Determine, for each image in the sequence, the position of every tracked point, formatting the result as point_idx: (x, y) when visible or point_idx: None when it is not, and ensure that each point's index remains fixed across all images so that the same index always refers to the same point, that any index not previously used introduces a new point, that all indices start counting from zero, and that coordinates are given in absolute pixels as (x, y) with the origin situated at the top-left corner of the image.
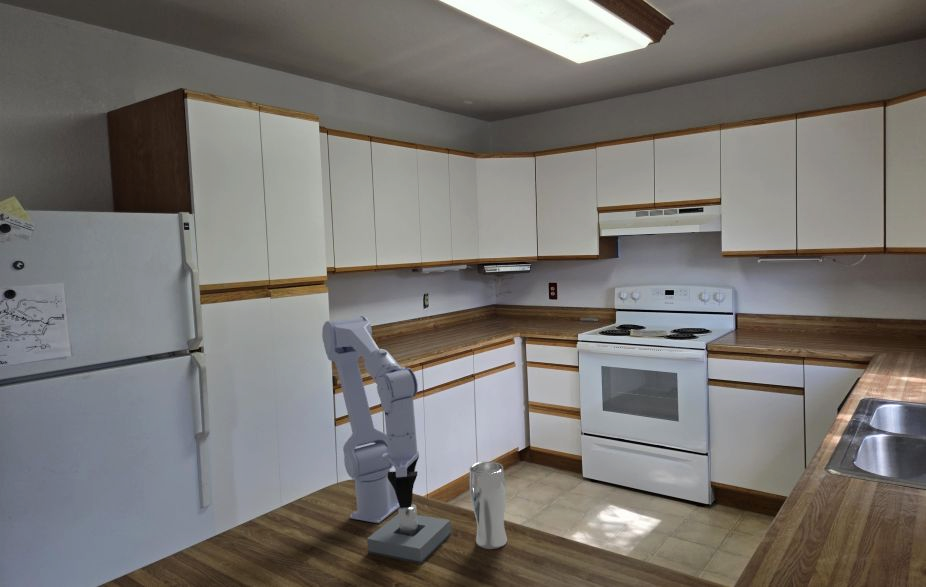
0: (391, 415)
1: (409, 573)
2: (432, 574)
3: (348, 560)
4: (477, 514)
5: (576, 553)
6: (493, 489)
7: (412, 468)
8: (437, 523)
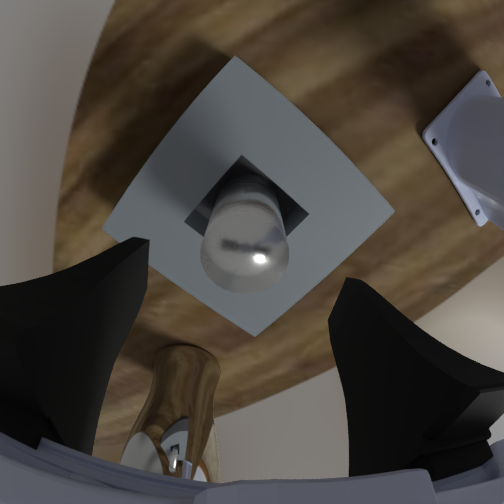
0: None
1: (85, 175)
2: (72, 229)
3: (217, 4)
4: (153, 407)
5: (122, 427)
6: None
7: (354, 422)
8: (248, 305)
